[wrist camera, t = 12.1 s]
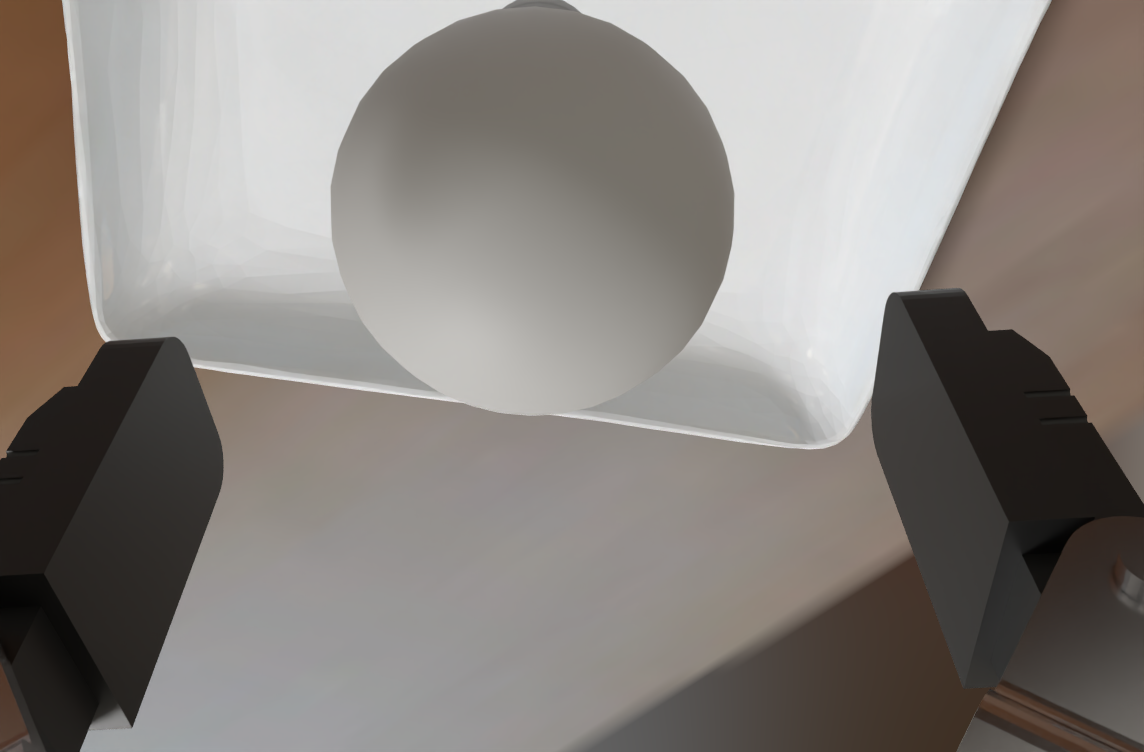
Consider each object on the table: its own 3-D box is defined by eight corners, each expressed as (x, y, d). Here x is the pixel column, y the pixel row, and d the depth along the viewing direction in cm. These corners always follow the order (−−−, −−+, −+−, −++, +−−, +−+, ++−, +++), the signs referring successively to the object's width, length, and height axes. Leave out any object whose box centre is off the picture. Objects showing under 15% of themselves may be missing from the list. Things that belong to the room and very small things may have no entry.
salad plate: (826, 395, 32) (851, 468, 30) (131, 295, 30) (88, 364, 27) (1183, -455, 20) (1283, -464, 17) (42, -744, 17) (-54, -810, 15)
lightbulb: (418, -143, 20) (306, 51, 11) (717, -72, 21) (836, 161, 12) (383, 144, 24) (278, 464, 15) (641, 196, 24) (688, 527, 16)
